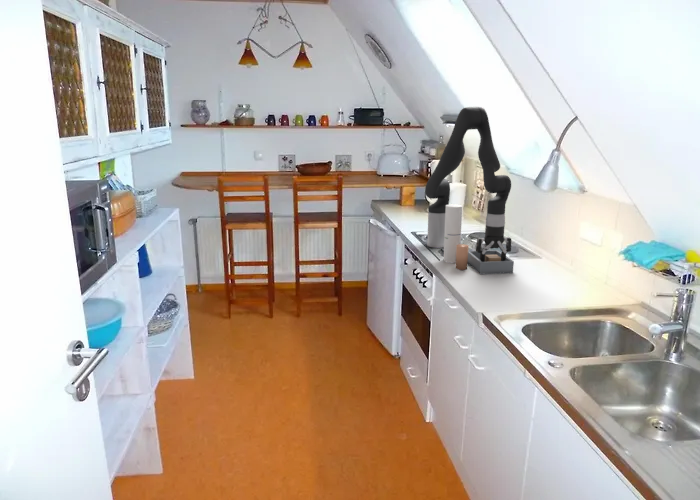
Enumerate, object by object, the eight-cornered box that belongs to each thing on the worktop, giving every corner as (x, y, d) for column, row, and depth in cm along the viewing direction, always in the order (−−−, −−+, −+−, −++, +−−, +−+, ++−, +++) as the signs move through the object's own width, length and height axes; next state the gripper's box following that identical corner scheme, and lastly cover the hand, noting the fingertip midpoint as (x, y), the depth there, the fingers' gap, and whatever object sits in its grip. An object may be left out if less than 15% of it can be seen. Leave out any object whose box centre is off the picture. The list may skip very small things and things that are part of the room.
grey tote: (466, 261, 220) (466, 250, 219) (496, 260, 221) (497, 249, 220) (479, 274, 203) (480, 262, 202) (512, 273, 204) (513, 261, 203)
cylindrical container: (455, 263, 218) (457, 207, 211) (440, 261, 222) (442, 206, 215) (462, 259, 223) (465, 205, 217) (447, 257, 227) (450, 203, 221)
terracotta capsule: (453, 266, 213) (455, 244, 211) (465, 266, 214) (466, 244, 211) (457, 270, 209) (458, 247, 206) (468, 269, 209) (470, 247, 206)
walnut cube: (484, 266, 210) (485, 254, 209) (495, 265, 211) (496, 254, 209) (488, 269, 206) (489, 258, 204) (500, 269, 206) (501, 257, 205)
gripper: (508, 221, 207) (505, 258, 212) (475, 222, 206) (473, 259, 210) (515, 225, 200) (512, 263, 204) (481, 226, 199) (479, 265, 203)
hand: (492, 261), depth 207 cm, fingers open, 8 cm apart
